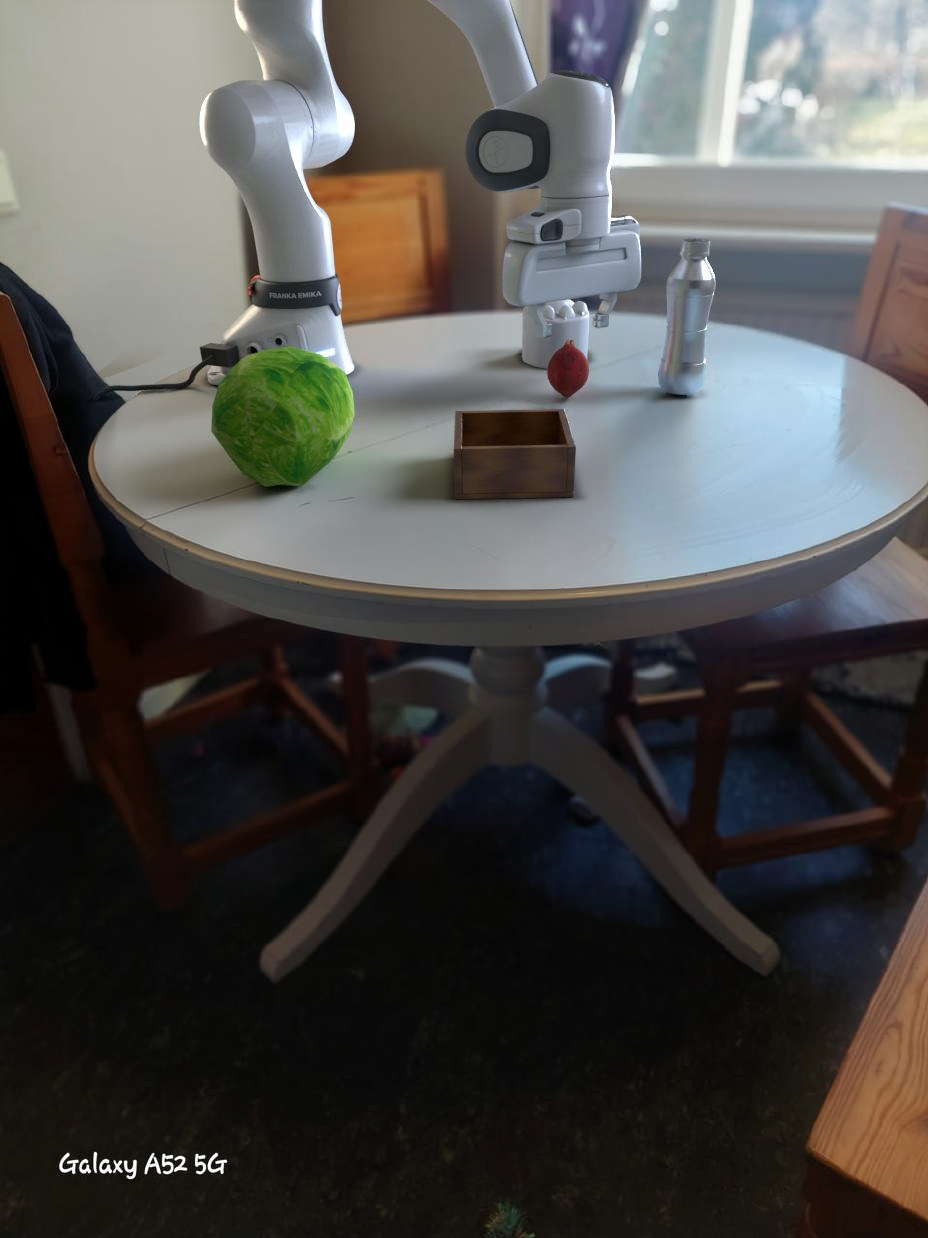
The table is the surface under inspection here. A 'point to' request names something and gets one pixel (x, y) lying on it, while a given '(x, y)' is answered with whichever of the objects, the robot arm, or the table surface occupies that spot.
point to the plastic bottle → (687, 319)
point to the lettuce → (283, 415)
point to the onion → (568, 369)
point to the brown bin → (513, 454)
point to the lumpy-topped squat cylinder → (555, 331)
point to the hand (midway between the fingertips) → (572, 332)
